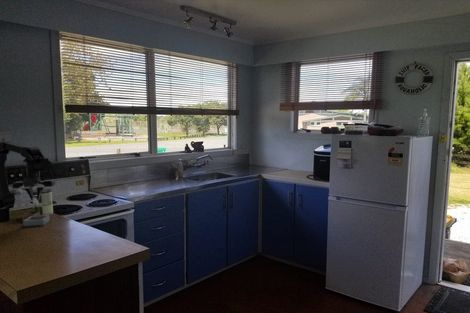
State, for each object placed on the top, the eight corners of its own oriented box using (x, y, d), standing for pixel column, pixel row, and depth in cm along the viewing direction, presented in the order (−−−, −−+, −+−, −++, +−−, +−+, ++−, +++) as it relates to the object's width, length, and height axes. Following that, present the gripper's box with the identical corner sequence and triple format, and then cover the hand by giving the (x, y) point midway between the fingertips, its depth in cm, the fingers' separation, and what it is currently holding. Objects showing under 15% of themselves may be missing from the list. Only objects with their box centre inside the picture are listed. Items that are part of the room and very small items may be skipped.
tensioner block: (28, 217, 194) (28, 210, 194) (40, 216, 196) (39, 209, 195) (22, 222, 186) (21, 214, 185) (34, 221, 187) (34, 213, 186)
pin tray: (30, 221, 186) (30, 216, 186) (49, 220, 188) (49, 215, 187) (23, 226, 177) (23, 221, 176) (43, 225, 178) (43, 219, 178)
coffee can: (32, 217, 196) (30, 192, 194) (34, 213, 205) (32, 189, 204) (53, 214, 200) (51, 190, 199) (53, 210, 209) (52, 188, 208)
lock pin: (34, 206, 182) (33, 195, 182) (39, 206, 183) (38, 194, 182) (32, 207, 180) (31, 196, 179) (37, 207, 180) (36, 195, 180)
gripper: (6, 173, 170) (8, 204, 171) (47, 172, 174) (49, 202, 175) (15, 170, 181) (18, 200, 182) (54, 169, 184) (56, 197, 186)
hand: (35, 200), depth 181 cm, fingers closed on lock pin, 2 cm apart
